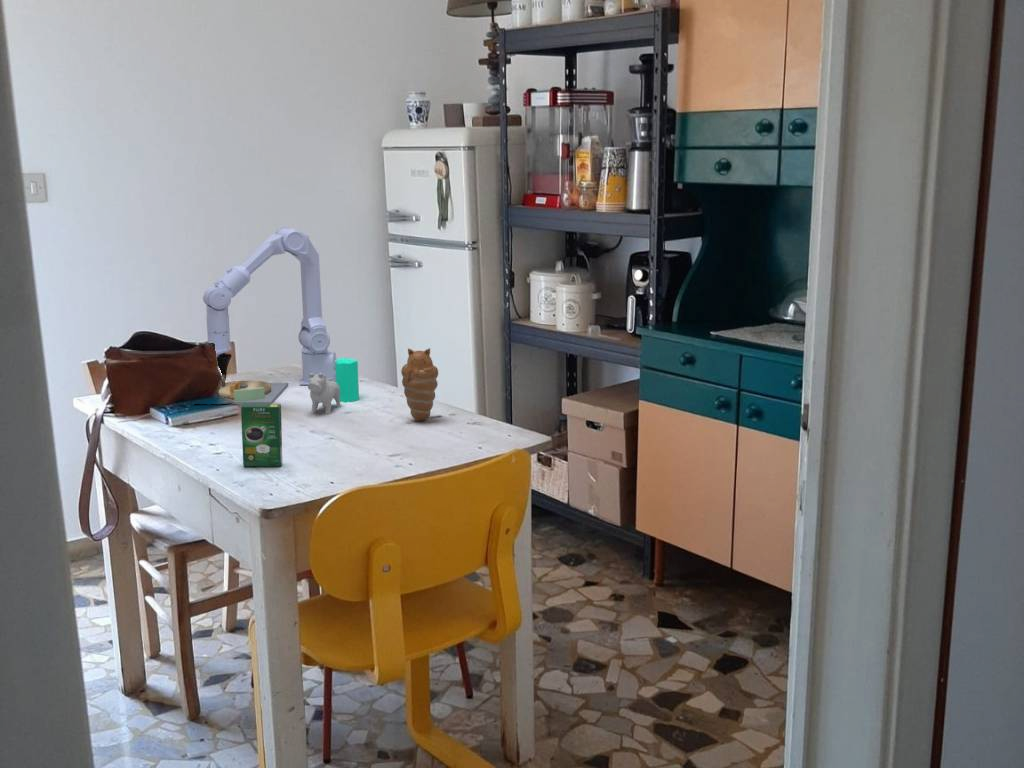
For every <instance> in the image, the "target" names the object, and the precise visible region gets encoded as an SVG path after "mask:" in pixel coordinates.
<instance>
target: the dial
mask: <svg viewBox="0 0 1024 768" xmlns="http://www.w3.org/2000/svg"><path fill="white" fill-rule="evenodd" d="M222 377H223V382H222V387H221V389H220V391H219V395H220V396H222V397H228V398H234V390H244V389H254V388H260V387H263V388H264V394H266V393H268V392H270V391H271V384H270V383H271V382H266V381H262V380H235V381H227V382H226V380H225V375H224V374H222Z"/></svg>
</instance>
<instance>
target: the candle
mask: <svg viewBox="0 0 1024 768" xmlns="http://www.w3.org/2000/svg"><path fill="white" fill-rule="evenodd" d="M358 362H359V361H358V360H357V359H353V358H347V357H342V358H338V359H336V360H335V370H336V381H335V382H337V384H338V385H339V387H340V403H352V402H353V403H354V402H357V401H360V393H359V392H360V390H359V365H358Z"/></svg>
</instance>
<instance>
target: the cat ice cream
mask: <svg viewBox="0 0 1024 768" xmlns="http://www.w3.org/2000/svg"><path fill="white" fill-rule="evenodd" d="M407 355H408V358H407V362H406V363H405V364H404V365H403V366H402V367H401V370H400V373H401V376H402V379H401V384H402V386H403V388H404V389H403V392H404V396H405V398H406V403H407V406H408V408H409V409H410V415H411V417H412V418H413V419H414V420H415V421H418V422H423V421H425V420H427V419H429V418H430V416H431V410H432V409H433V408H434V407H433V406H434V400H435V399H436V392H435V391H436V389H437V388H438V381H437V378H438V376H439V369H438V367H437V366H435V365H434V363H433V360H432V357H431V356H430V355H431V348H427V349H425V350H413V349H411V348H407Z"/></svg>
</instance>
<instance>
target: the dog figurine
mask: <svg viewBox="0 0 1024 768" xmlns="http://www.w3.org/2000/svg"><path fill="white" fill-rule="evenodd" d="M307 388H308V390H309V392H310V393H309V395H310V397H309V398H310V399H311V401H312V405H311V412H310V413H311V414H317V411H318V408H319V404H320V403H321V404H322V406H321V407H322V408H324V409H325V414H326V415H330V414H331V412H332V411H331V410H332V401H333V399H334V401H335V403H336V404H335V406H336V408H337V409H338V408H339V409H340V408H341V402H340V387H339V385H338V384H337V382H336V381H335V382H334V381H332V378H328V379H326V375H323V374H322V373H319V374H313V373H310V374H309V385H307Z"/></svg>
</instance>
